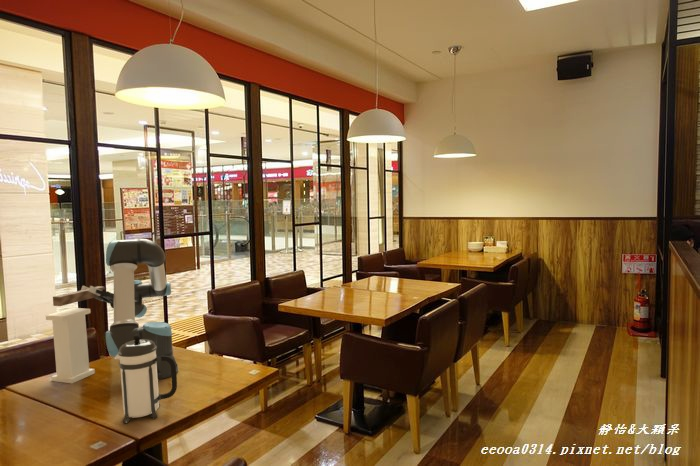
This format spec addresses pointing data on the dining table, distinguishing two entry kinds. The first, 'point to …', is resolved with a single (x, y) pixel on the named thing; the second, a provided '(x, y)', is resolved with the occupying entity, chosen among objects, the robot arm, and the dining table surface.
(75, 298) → the walnut bar
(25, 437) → the dining table surface
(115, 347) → the robot arm
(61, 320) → the white pedestal
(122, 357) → the coffee press
